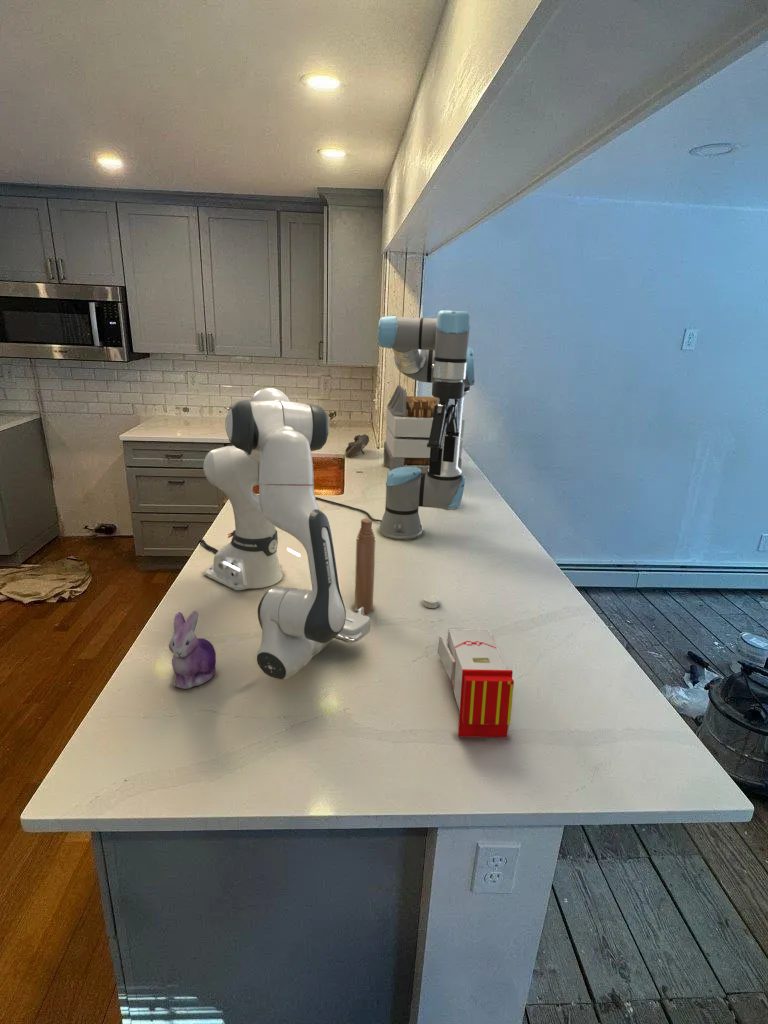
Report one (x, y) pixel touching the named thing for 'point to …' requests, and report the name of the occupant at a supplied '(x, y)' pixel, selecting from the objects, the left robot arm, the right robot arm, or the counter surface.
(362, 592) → the bottle
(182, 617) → the figurine
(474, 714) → the toy
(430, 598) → the cap
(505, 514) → the counter surface
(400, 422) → the grey slatted box
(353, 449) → the fossil
